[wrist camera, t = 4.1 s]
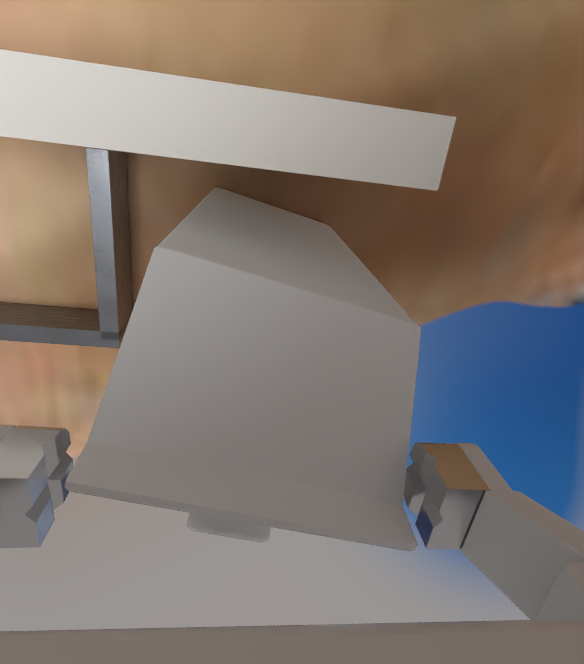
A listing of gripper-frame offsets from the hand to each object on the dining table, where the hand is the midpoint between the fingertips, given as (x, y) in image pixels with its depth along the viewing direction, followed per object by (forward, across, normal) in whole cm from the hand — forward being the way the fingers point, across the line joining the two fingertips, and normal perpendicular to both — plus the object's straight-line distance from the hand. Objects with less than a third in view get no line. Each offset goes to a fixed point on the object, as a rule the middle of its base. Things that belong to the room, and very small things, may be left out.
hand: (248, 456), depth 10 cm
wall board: (+17, +8, -7) cm, 20 cm away
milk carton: (+17, 0, 0) cm, 17 cm away
